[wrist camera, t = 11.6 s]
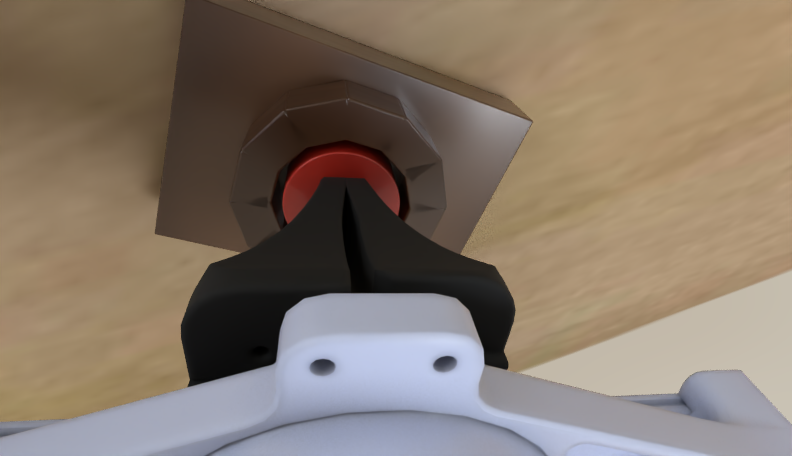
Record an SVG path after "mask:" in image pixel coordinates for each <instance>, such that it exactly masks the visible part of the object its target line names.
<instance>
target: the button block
mask: <svg viewBox="0 0 792 456" xmlns="http://www.w3.org/2000/svg"><path fill="white" fill-rule="evenodd" d="M532 123H533V121H532V120H531V119H530V118H529V117H528V116H527V115H526V114H525V113H524V112H523V111H521V110H520V109H519V108H518V107H517V106H516V105H515V104H514V103H513V102H512V101H510V100H508V99H505V98H502V97H500V96H497V95H494V94H492V93H489V92H486V91H484V90H481V89H478V88H476V87H473V86H471V85H468V84H465V83H463V82H460V81H457V80H455V79H452V78H449V77H447V76H444V75H441V74H439V73H436V72H434V71H431V70H428V69H426V68H423V67H420V66H418V65H415V64H412V63H410V62H407V61H405V60H402V59H399V58H397V57H394V56H391V55H389V54H386V53H383V52H381V51H378V50H375V49H373V48H370V47H368V46H365V45H362V44H360V43H357V42H354V41H352V40H349V39H346V38H344V37H341V36H338V35H336V34H333V33H331V32H328V31H325V30H323V29H320V28H317V27H315V26H312V25H309V24H307V23H304V22H301V21H299V20H296V19H294V18H291V17H288V16H286V15H283V14H280V13H278V12H275V11H272V10H270V9H267V8H265V7H262V6H259V5H257V4H254V3H251V2H249V1H246V0H185V8H184V15H183V23H182V31H181V38H180V46H179V53H178V61H177V69H176V76H175V84H174V91H173V99H172V107H171V114H170V122H169V129H168V137H167V144H166V152H165V160H164V167H163V175H162V182H161V190H160V198H159V205H158V213H157V220H156V228H155V234H157V235H162V236H167V237H171V238H176V239H181V240H185V241H190V242H195V243H199V244H204V245H208V246H213V247H218V248H222V249H227V250H232V251H236V252H241V253H243V252H245V251H247V250H249V249H251V248H253V247H255V246H257V245H259V244H261V243H263V242H264V241H266V240H267V239H269V238H270V237H272V236H274V235H275V234H277V233H278V232H279V231H281V230H282V229H283V228H284V227H285V226H286V225H288V223H287V221H286V219H285V216H284V212H283V206H282V199H283V192H284V186H285V180H286V174H287V169H288V165H289V163H290V162H291V161H292V160H293V159H294V158H295V157H297V156H298V155H299V154H300V153H301V152H302V151H304V150H305V149H306V148H307V147H312V146H317V145H322V144H328V143H333V142H338V141H343V140H348V141H351V142H354V143H358V144H361V145H364V146H367V147H371V148H374V149H377V150H380V151H382V152H383V154H384V155H385V156H386V157H387V158H388V159H389V160H390V163H391V165H392V169H393V172H394V176H395V180H396V183H397V187H398V191H399V196H400V208H399V213H398V217H399V218H401V219H402V220H403V221H404V222H405V223H406V224H408V225H409V226H410V227H412V228H413V229H414V230H416V231H417V232H419V233H420V234H421V235H423V236H425V237H426V238H428V239H430V240H431V241H433V242H435V243H437V244H439V245H440V246H442V247H444V248H446V249H448V250H451V251H453V252H455V253H458V254H460V253H461V252H462V250H463V248H464V246H465V244H466V243H467V241H468V239H469V237H470V235H471V233H472V232H473V230H474V228H475V226H476V224H477V223H478V221H479V219H480V217H481V215H482V213H483V212H484V210H485V208H486V206H487V204H488V203H489V201H490V199H491V197H492V195H493V193H494V192H495V190H496V188H497V186H498V184H499V183H500V181H501V179H502V177H503V175H504V174H505V172H506V170H507V168H508V166H509V164H510V163H511V161H512V159H513V157H514V155H515V154H516V152H517V150H518V148H519V146H520V144H521V143H522V141H523V139H524V137H525V135H526V134H527V132H528V130H529V128H530V126H531V124H532Z"/></svg>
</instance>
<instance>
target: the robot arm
mask: <svg viewBox="0 0 792 456" xmlns="http://www.w3.org/2000/svg"><path fill="white" fill-rule="evenodd" d="M514 316H515V305H514V300H513V298H512V296H511V294H510V292H509V290H508V288H507V286H506V284H505V282H504V280H503V278H502V277H501V275H500V274H499V272H498V271H497V269H496V268H495V266H493V265H490V264H486V263H483V262H480V261H477V260H474V259H470V258H467V257H465V256H462V255H460V254H458V253H455V252H453V251H451V250H448V249H446V248H444V247H442V246H440V245H439V244H437V243H435V242H433V241H431V240H430V239H428V238H426V237H425V236H423V235H421V234H420V233H419V232H417V231H416V230H414V229H413V228H412V227H410V226H409V225H408V224H406V223H405V222H404V221H403V220H402V219H401V218H399V217H398V216H397V215H396V214H395V213H394V212H393V211H392V210H391V209H390V208H389V207H388V206H387V205H386V204H385V203H384V201H383V200H382V199H381V198H380V197H379V196H378V194H377V193H376V192H375V191H374V189H373V188H372V187H371V185H370V184H369V183H368V182H367V180H366V179H365V178H344V177H323V178H322V179H321V180H320V183H319V185H318V187H317V189H316V191H315V192H314V194H313V195H312V197H311V198H310V200H309V201H308V202H307V204H306V205H305V206H304V208H303V209H302V210H301V211H300V212H299V213H298V214H297V215H296V217H295V218H294V219H293V220H292V221H291V222H290V223H289V224H288V225H286V226H285V227H284V228H283V229H282V230H281V231H279V232H278V233H277V234H275V235H274V236H272V237H270V238H269V239H267V240H266V241H264V242H263V243H261V244H259V245H257V246H255V247H253V248H251V249H249V250H247V251H245V252H243V253H240V254H238V255H235V256H233V257H230V258H227V259H224V260H221V261H218V262H215V263H211V264H210V265H209V267H208V268H207V270H206V271H205V273H204V275H203V276H202V278H201V280H200V281H199V283H198V285H197V286H196V288H195V290H194V292H193V294H192V296H191V298H190V301H189V304H188V307H187V309H186V312H185V315H184V318H183V321H182V324H181V340H182V344H183V349H184V354H185V359H186V364H187V368H188V373H189V378H190V381H189V384H188V387H187V388H184V389H180V390H176V391H172V392H169V393H165V394H161V395H158V396H154V397H150V398H146V399H143V400H139V401H135V402H131V403H128V404H124V405H120V406H117V407H113V408H109V409H105V410H102V411H98V412H94V413H91V414H87V415H83V416H79V417H76V418H72V419H58V420H34V421H10V422H0V456H792V424H791V423H790V422H789V421H788V420H787V419H786V418H785V417H784V416H783V415H782V414H781V413H780V411H778V409H777V408H776V407H775V406H774V405H773V404H772V403H771V402H770V401H769V400H768V399H767V398H766V397H765V395H764V394H763V393H762V392H761V391H760V390H759V389H758V388H757V387H756V386H755V385H754V384H753V383H752V382H751V381H750V379H749V378H748V377H747V376H746V375H745V374H744V373H743V372H742V371H741V370H712V371H700V372H696V373H694V374H692V375H690V376H689V377H688V378H687V379H686V380H685V382H684V383H683V385H682V386H681V389H680V391H679V393H677V394H653V395H631V396H630V395H629V396H608V395H604V394H600V393H596V392H592V391H588V390H584V389H580V388H576V387H572V386H568V385H564V384H560V383H556V382H552V381H548V380H544V379H540V378H536V377H532V376H528V375H524V374H520V373H516V372H512V371H508V370H507V369H508V361H507V358H506V356H505V353H504V348H505V345H506V342H507V339H508V337H509V334H510V331H511V328H512V325H513V322H514Z"/></svg>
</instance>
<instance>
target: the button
mask: <svg viewBox="0 0 792 456" xmlns="http://www.w3.org/2000/svg"><path fill="white" fill-rule="evenodd" d="M323 177H344V178H365V179H366V180H367V182H368V183H369V184H370V185H371V187H372V188H373V189H374V191H375V192H376V193H377V194H378V196H379V197H380V198H381V199H382V200H383V201H384V203H385V204H386V205H387V206H388V207H389V208H390V209H391V210H392V211H393V212H394V213H395V214H396V215H397V216H398V213H399V208H400V196H399V191H398V187H397V183H396V180H395V176H394V172H393V169H392V165H391V163H390V160H389V159H388V158H387V157H386V156H385V155H384V154H383V152H382V151H380V150H377V149H374V148H371V147H367V146H364V145H361V144H358V143H354V142H351V141H348V140H343V141H338V142H333V143H328V144H322V145H317V146H312V147H307V148H306V149H305V150H304V151H302V152H301V153H300V154H299V155H298V156H297V157H295V158H294V159H293V160H292V161H291V162H290V163H289V165H288V169H287V174H286V180H285V186H284V192H283V199H282V206H283V212H284V216H285V219H286V221H287V223H288V224H289V223H290V222H291V221H292V220H293V219H294V218H295V217H296V215H297V214H298V213H299V212H300V211H301V210H302V209H303V208H304V206H305V205H306V204H307V202H308V201H309V200H310V198H311V197H312V195H313V194H314V192H315V191H316V189H317V187H318V185H319V183H320V180H321V179H322V178H323Z"/></svg>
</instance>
